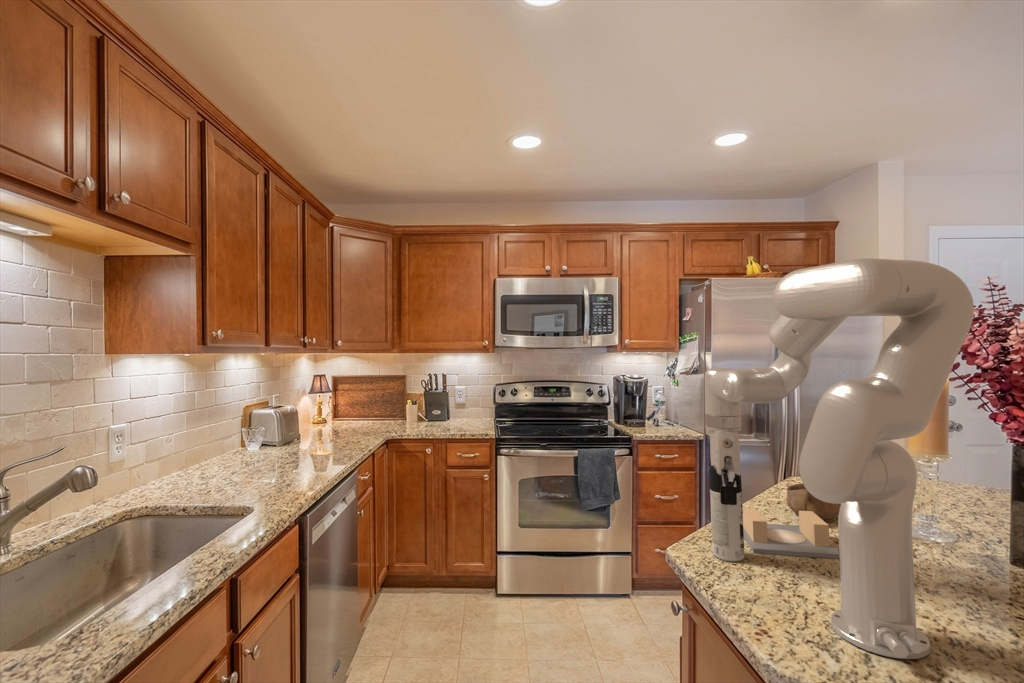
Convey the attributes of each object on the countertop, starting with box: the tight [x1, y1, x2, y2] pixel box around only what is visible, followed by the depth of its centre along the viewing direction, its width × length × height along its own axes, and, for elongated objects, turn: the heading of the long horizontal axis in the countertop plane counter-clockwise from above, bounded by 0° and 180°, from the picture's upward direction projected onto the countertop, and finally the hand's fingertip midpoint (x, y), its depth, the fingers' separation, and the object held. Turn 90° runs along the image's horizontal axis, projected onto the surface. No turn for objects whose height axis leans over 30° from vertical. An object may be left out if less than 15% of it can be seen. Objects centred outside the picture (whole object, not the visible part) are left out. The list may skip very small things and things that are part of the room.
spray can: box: [709, 465, 745, 563], centre depth 108 cm, size 7×7×20 cm
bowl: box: [786, 483, 841, 520], centre depth 131 cm, size 18×14×10 cm
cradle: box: [743, 507, 840, 560], centre depth 116 cm, size 18×18×6 cm
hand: (724, 497), depth 109 cm, fingers open, 9 cm apart
